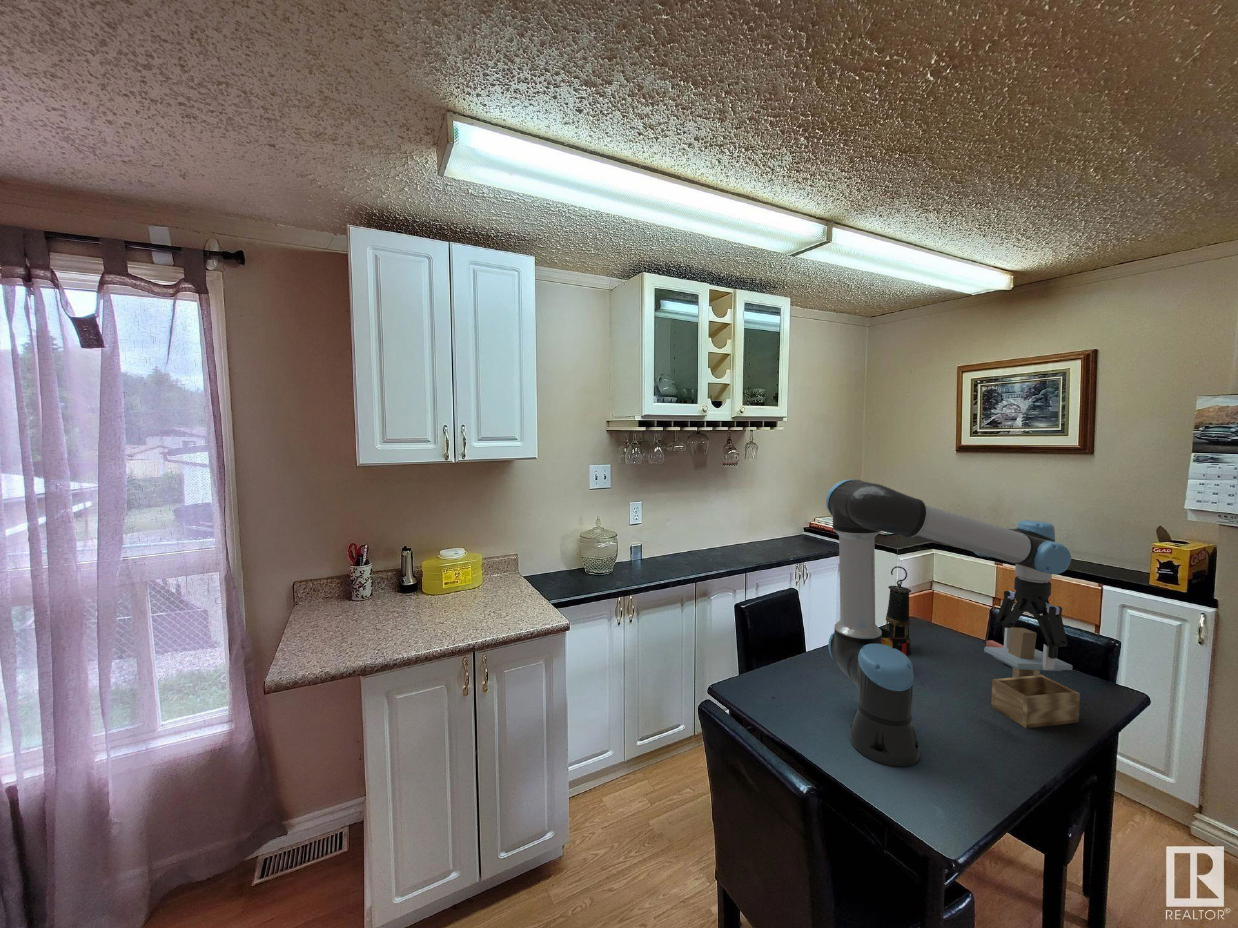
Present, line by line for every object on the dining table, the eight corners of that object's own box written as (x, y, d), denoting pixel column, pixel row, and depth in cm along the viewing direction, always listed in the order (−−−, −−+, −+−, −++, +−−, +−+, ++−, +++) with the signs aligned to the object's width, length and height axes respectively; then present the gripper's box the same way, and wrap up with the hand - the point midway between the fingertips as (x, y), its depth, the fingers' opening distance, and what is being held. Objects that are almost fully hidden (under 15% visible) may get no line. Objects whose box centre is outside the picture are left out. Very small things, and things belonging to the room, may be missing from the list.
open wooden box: (1026, 728, 125) (1027, 698, 125) (991, 706, 135) (992, 679, 135) (1078, 722, 127) (1079, 693, 127) (1040, 701, 137) (1041, 674, 137)
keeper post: (1018, 697, 140) (1020, 652, 139) (1011, 693, 142) (1013, 649, 141) (1033, 696, 140) (1035, 651, 140) (1026, 692, 142) (1028, 648, 142)
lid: (1017, 671, 124) (1021, 636, 124) (983, 654, 134) (987, 622, 134) (1071, 673, 126) (1076, 639, 126) (1034, 656, 136) (1038, 624, 136)
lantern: (901, 657, 165) (903, 571, 164) (876, 647, 173) (878, 565, 172) (916, 651, 170) (918, 568, 168) (891, 642, 178) (893, 562, 176)
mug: (906, 667, 158) (907, 632, 157) (879, 677, 152) (880, 640, 151) (879, 655, 167) (880, 622, 166) (852, 664, 161) (853, 629, 160)
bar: (1026, 666, 139) (1026, 659, 138) (986, 646, 151) (986, 640, 151) (1032, 665, 139) (1032, 658, 139) (991, 646, 152) (992, 640, 152)
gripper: (1091, 591, 118) (1085, 679, 119) (1005, 566, 141) (1001, 640, 142) (1065, 592, 117) (1059, 681, 118) (983, 567, 139) (978, 642, 141)
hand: (1027, 659), depth 130 cm, fingers closed on lid, 10 cm apart
